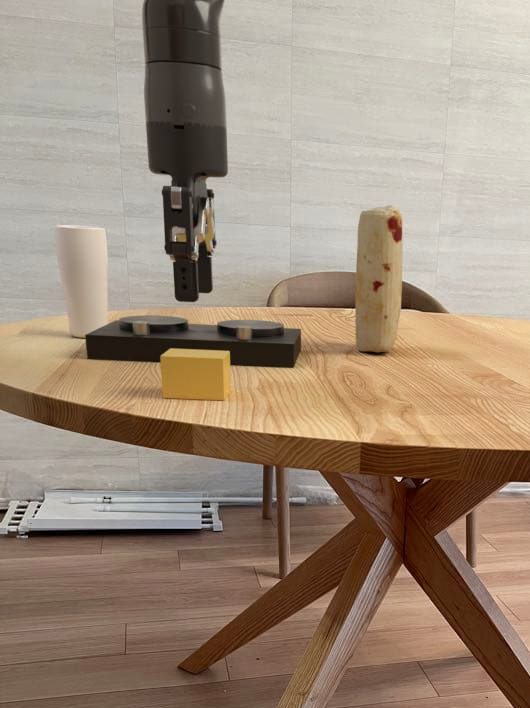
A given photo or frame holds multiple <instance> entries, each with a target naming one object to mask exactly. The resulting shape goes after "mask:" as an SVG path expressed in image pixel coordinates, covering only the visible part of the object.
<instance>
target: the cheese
mask: <svg viewBox="0 0 530 708" xmlns="http://www.w3.org/2000/svg"><path fill="white" fill-rule="evenodd" d="M160 358H161V362H160V373H161V374H160V375H161V390H162V399H174V400H175V399H177V400H178V399H179V400H180V399H181V400H202V401H203V400H205V401H225V400H226V399H227V397H228V396H229V394H230V393H231V391H232V383H231V382H232V381H231V379H232V378H231V365H230V351H218V350H195V349H172V348H170V349H169V350H168V351H166V352H165V353H164V354H162V355H161V356H160Z"/></svg>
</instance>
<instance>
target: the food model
mask: <svg viewBox="0 0 530 708" xmlns="http://www.w3.org/2000/svg"><path fill="white" fill-rule="evenodd" d="M403 241H404V240H403V217H402V213H401V211H400V210H399V209H398V208H397V207H396V206H394V205H390V204H388V205H386V206H377V207H373V208H371V209H367V210H362V211H361V212H360V215H359V218H358V223H357V246H356V247H357V248H356V250H357V251H356V265H355V267H356V269H355V283H354V284H355V286H354V289H355V293H354V294H355V295H354V296H355V300H354V301H355V304H354V305H355V309H354V310H355V312H354V314H355V315H354V317H355V319H354V320H355V345H356V347H357V349H358V351H360V352H374V353H388V352H390V351H391V350H393V348H394V346H395V343H396V342H397V341H396V340H397V338H398V337H397V336H398V329H399V322H400V316H401V312H402V291H403V253H404V252H403V251H404V248H403V245H404V242H403Z"/></svg>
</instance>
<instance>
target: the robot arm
mask: <svg viewBox="0 0 530 708" xmlns="http://www.w3.org/2000/svg"><path fill="white" fill-rule="evenodd" d="M225 2H226V1H225V0H143V2H142V6H141V25H142V41H143V54H144V56H143V58H144V81H143V100H144V101H143V102H144V115H145V116H144V117H145V130H146V131H145V132H146V146H147V147H146V148H147V161H148V169H149V171H150V172H151V173H152V174H154V175H162V176H170V177H171V181H170V185H162V190H161V196H162V207H163V231H164V245H163V246H164V247H163V248H164V251H165V255H168V256H169V259H170V261H172V270H173V271H172V272H173V273H172V274H173V287H174V298H175V300H176V301H177V302H180V303H195V302H197V301H198V300H199V298H200V294H210V293H212V292H213V291H214V290H213V289H214V285H213V284H214V281H213V280H214V279H213V261H212V259H213V256H214V253H215V249H216V247H217V243H218V242H217V240H216V220H215V200H214V199H215V192H214V190H213V188H207V182H206V181H207V179H209V178H218V179H219V178H225V177H226V176H227V175H228V173H229V162H228V161H229V160H228V131H227V130H228V129H227V106H226V105H227V101H226V92H225V86H224V79H223V71H222V70H223V58H222V34H221V18H222V13H223V9H224V5H225Z"/></svg>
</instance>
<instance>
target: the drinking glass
mask: <svg viewBox="0 0 530 708" xmlns="http://www.w3.org/2000/svg"><path fill="white" fill-rule="evenodd" d="M54 241H55V249H56V251H55V252H56V258H57V264H58V269H59V274H60V280H61V285H62V291H63V296H64V302H65V307H66V308H65V309H66V313H67V319H68V328H69V333H70V335H71V336H72V337H75V338H80V339H86V338H85V335H86V334H88V333H90V332H92V331H94V330H96V329H99V328H101V327H103V326H105V325H107V324H109V253H108V241H107V231H106V228H105V227H103V226H92V225H69V224H68V225H67V224H65V225H64V224H61V225H60V224H59V225H55V226H54Z"/></svg>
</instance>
